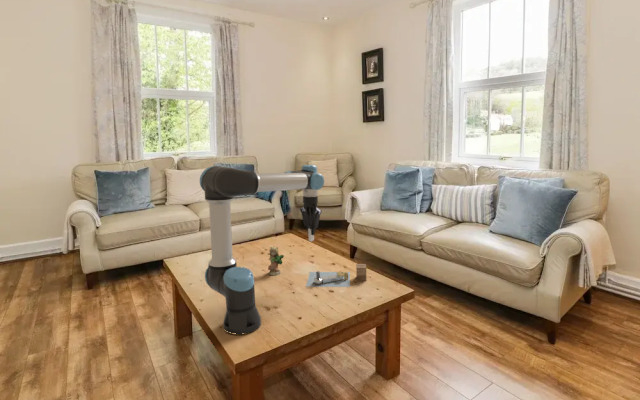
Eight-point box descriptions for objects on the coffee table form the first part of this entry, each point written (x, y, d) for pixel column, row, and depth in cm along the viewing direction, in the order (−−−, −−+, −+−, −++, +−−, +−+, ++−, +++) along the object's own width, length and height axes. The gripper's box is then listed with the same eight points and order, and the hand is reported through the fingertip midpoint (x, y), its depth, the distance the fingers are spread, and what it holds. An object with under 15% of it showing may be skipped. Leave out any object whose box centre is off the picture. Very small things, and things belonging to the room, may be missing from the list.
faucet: (315, 285, 186) (315, 281, 186) (313, 281, 190) (312, 278, 190) (343, 280, 191) (343, 276, 191) (340, 277, 195) (340, 273, 195)
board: (349, 288, 184) (349, 275, 182) (305, 288, 186) (305, 274, 184) (349, 273, 202) (349, 261, 201) (310, 273, 204) (309, 261, 203)
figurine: (265, 274, 205) (263, 248, 202) (273, 269, 211) (271, 244, 208) (279, 277, 200) (277, 250, 198) (286, 272, 207) (285, 246, 204)
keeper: (349, 282, 191) (349, 273, 190) (339, 283, 190) (339, 275, 189) (346, 278, 196) (345, 270, 195) (336, 280, 194) (336, 271, 193)
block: (366, 282, 190) (366, 267, 189) (356, 282, 191) (356, 267, 189) (366, 278, 195) (365, 264, 194) (356, 278, 196) (356, 264, 194)
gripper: (295, 195, 188) (297, 240, 192) (315, 198, 180) (316, 244, 184) (305, 193, 194) (306, 236, 198) (324, 195, 185) (325, 241, 190)
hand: (311, 240), depth 191 cm, fingers closed
